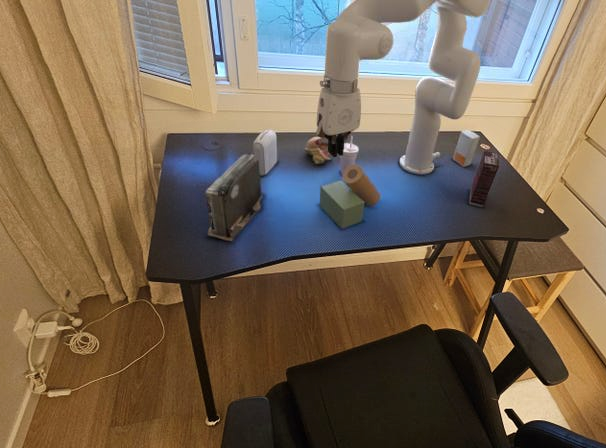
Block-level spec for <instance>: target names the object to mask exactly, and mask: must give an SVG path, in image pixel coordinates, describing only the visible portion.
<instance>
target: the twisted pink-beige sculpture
mask: <svg viewBox="0 0 606 448" xmlns="http://www.w3.org/2000/svg"><path fill="white" fill-rule="evenodd" d="M327 149H328V141H322V138H321V137H318V136H314V137H312V138H310V139H309V140H308V141H307V142H306V147H305V148H303V150H304V151H305V152H306V153H307V154H309V155H311V156H312V161H314V164H315V165H320V164H324V163H325V161H331V160H332V158H330V157H329V156H332V155H331V154H330V153H329V152H328V151H327V152H325V151H326V150H327Z"/></svg>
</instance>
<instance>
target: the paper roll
mask: <svg viewBox="0 0 606 448" xmlns="http://www.w3.org/2000/svg"><path fill="white" fill-rule="evenodd" d="M342 180H343V182H344V184H345V185H346V186H348V187H349V188H350V189H351V190H352V191H353V192H354V193H355V194H356V195H357V196H358V197H359V198H360V199H362V200H363V201H364V202H365V203H364V207H368V208H370V207H375V206H376V205H377V204H378V203H379V201H380V199H381V194H380V192H379V190H378V189H377V188H376V186H375V185H374V184H373V182H372V181H371V179H370V178H369V176H368V175H367V174H366V172H365V171H364V169H363V168H362V167H361V166H360V165H359V164H354V165H352V166H349V167H348V168H347V169H346V170H345V171H344V173H343V175H342Z"/></svg>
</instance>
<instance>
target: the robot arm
mask: <svg viewBox="0 0 606 448" xmlns="http://www.w3.org/2000/svg"><path fill="white" fill-rule="evenodd" d="M491 2H492V0H353V2H351V3H350V4H349V5H347V6H346V8H344V9H343V10H341V12H340V14H339V15H338V16H337V17H336V19H335V21H333V22H331V23H329V24H328V26H327V29H326V36H325V38H326V39H325V59H324V75H323V79H322V80H319V86H320V88H321V90H320V93H319V97H318V102H317V109H316V110H317V111H316V127H317V128H316V130H315V135H316V137H320V138H321V139H324V138H325V139H327V143H328V147H327V152H329V153H330V154H331V155H330V156H332V157H333V158H337V157H338V155H339V157H340V156H342V155H343V150H344V143H346V141H348V138H349V136H350V135H351V133H352V132H354V131H357V130H358V129H359V127H360V126H361V118H362V96H361V90H360V88H359V87H358V84H359V76H360V75H359V74H360V65H361V61H378V60H382V59H384V58H385V57H387V56H388V55H389V54H390V52H391V51H392V50H393V46H394V34H393V32H392V31H391V29H390V28H389V27H388V26H387V25H385V24H386V23H389V24H390V23H391V24H399V23H400V24H401V23H409V22H414V21H416V20H418V18H420V17H421V16H422V15H423V14H424V13H425V12H426V11H427V10H428V9H429V8H430V7H431V6H433V5H434V6H435V9H436V12H437V26H436V29H435V34H434V37H433V41H432V46H431V49H430V53H429V57H428V64H427V65H428V68H429V70H430V71H431V72H433V73H434V74H436V75H438V76H440V77H442V78H446V79H448V80H450V81H452V82H454V84H452V83H449V82H447V81H445V80H443V79H441V78H439V77H434V76H424V77H422V78H421V79H419V81H418V83H417V84H416V87H415V90H414V108H413V109H414V110H413V117H412V121H411V126H410V131H409V136H408V140H407V144H406V151H405V154H403V155H402V156H400V158H399V166H400V167H401V168H402V169H403V170H405V171H406V172H407V173H411V174H415V175H421V176H423V175H429V174H430V173H432V172H433V171H434V169H435V163H434V162H433V161H434V160H435V159H438V158H440V157H441V153H440V152H439V151H437V152H435V153H434V151H435V148H436V144H437V141H438V136H439V133H440V129H441V125H442V119H441V118H442V117H441V116H443V117H446V118H447V119H450V120H459V119H460V118H462V117H463V115H465V113H466V111H467V109H468V106H469V103H470V101H471V99H472V95H473V91H474V89H475V86H476V83H477V79H478V77H479V74H480V71H481V66H482V65H481V63H482V61H481V57H480V55H479V54H478V53H477V52H476V51H474V50H472V49H470V48H469V49H468V48H466V47H464V46H463V43H464V39H465V36H466V33H467V29H468V24H467V23H468V22H467V17H470V18H473V19H474V18H475V19H477V18H480V17H482V16H483V15H484V14H486V12H487V11H488V9H489V7H490V5H491ZM384 23H385V24H384Z"/></svg>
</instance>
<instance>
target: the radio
mask: <svg viewBox="0 0 606 448" xmlns="http://www.w3.org/2000/svg"><path fill="white" fill-rule="evenodd" d="M204 193H205V199H206V206H207V213H208V220H209V225H210V226H209V228H208V231H207V236H208V237H209V236H210V237H214V238H218V239H221V240H223V241H229V242H233V241H234V240H235V239H236V238H237V237H238V235H240V233H241V232H242V231H243V230H244V228H245V227H246V226H247V225H248V224H249V223H250V222H251V220H252V219H253V218H254V217H255V216H256V215H257V213H258V212H259V211H260V210H261V209H262V208H261V207H262V205H261V203H260V202H261V200H262V199H263V198H264V196H263V194H262V186H261V175H260V171H259V161H258V159H257V157H255V156H254V155H253V154H252V153H251V152H248V153H246V154H242V155H241V156H240V157H239V158H238V159H237V160H235V162H234V163H232V164H231V165H230V166H229V167H227V169H226V170H225V171H224V172H223V173H222V175H220V176H219V177H217V178H216V179H215V180H214V181H213V182H212V183H211V185H209V187H208V188H207V189H206V190H205V192H204Z"/></svg>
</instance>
